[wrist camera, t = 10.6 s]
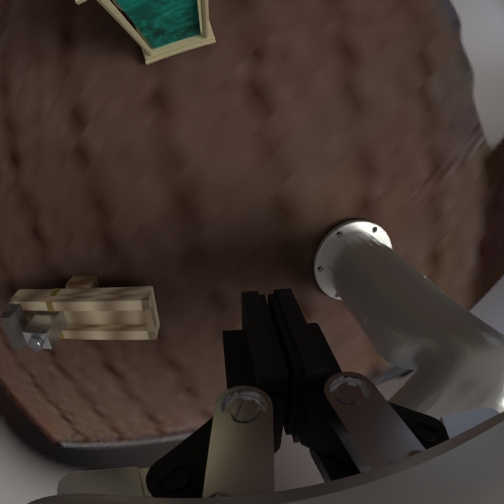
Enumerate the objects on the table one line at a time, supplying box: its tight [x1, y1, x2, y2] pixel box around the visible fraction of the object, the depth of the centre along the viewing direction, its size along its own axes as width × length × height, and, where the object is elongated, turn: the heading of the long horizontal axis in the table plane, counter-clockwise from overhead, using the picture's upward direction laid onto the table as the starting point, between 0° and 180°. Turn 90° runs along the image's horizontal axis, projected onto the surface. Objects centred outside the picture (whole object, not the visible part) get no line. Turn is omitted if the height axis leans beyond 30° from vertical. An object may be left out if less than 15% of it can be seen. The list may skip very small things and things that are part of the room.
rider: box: [23, 311, 67, 352], centre depth 33 cm, size 4×2×7 cm, turn 90°
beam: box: [0, 275, 160, 349], centre depth 36 cm, size 22×7×10 cm, turn 90°
